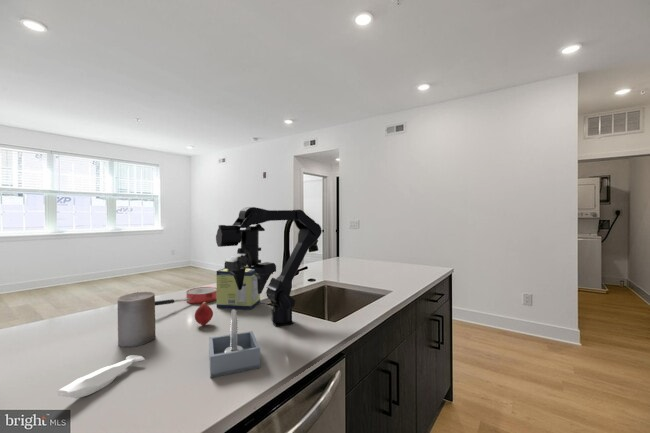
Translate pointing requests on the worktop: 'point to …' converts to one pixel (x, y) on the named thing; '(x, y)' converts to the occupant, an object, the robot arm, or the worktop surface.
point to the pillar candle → (136, 319)
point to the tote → (233, 354)
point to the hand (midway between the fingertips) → (249, 291)
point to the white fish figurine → (96, 379)
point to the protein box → (231, 295)
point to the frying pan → (195, 296)
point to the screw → (233, 334)
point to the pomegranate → (203, 314)
